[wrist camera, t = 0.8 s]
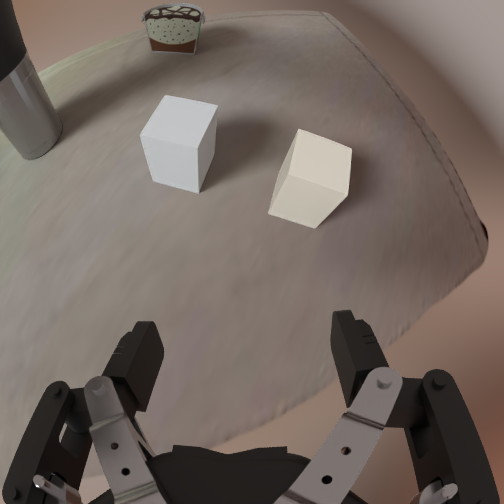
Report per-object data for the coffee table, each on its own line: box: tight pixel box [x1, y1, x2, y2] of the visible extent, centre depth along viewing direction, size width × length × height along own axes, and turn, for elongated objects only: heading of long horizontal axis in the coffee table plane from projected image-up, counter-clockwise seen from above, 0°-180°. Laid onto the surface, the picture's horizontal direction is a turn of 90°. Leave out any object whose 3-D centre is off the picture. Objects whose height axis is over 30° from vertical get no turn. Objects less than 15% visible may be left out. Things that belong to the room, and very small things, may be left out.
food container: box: [141, 3, 205, 55], centre depth 40 cm, size 12×6×10 cm, turn 80°
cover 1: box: [140, 95, 218, 193], centre depth 32 cm, size 7×7×10 cm
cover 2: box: [268, 129, 352, 229], centre depth 33 cm, size 7×7×10 cm
